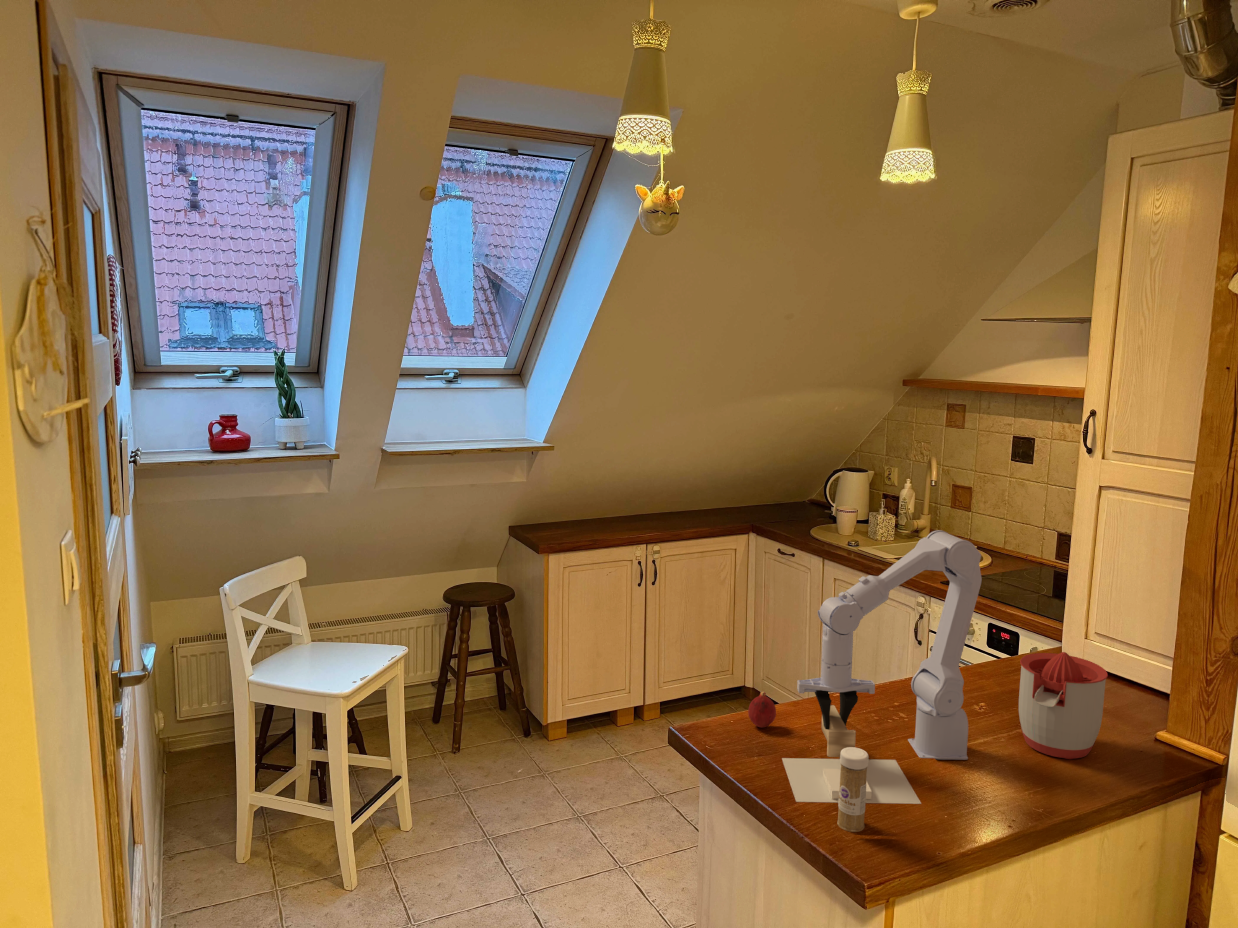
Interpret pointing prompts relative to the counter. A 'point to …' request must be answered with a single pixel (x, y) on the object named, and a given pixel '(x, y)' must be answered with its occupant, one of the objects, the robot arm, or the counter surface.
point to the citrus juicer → (1061, 703)
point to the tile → (838, 783)
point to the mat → (809, 772)
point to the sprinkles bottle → (852, 789)
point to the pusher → (837, 734)
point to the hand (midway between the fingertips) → (834, 726)
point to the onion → (762, 711)
